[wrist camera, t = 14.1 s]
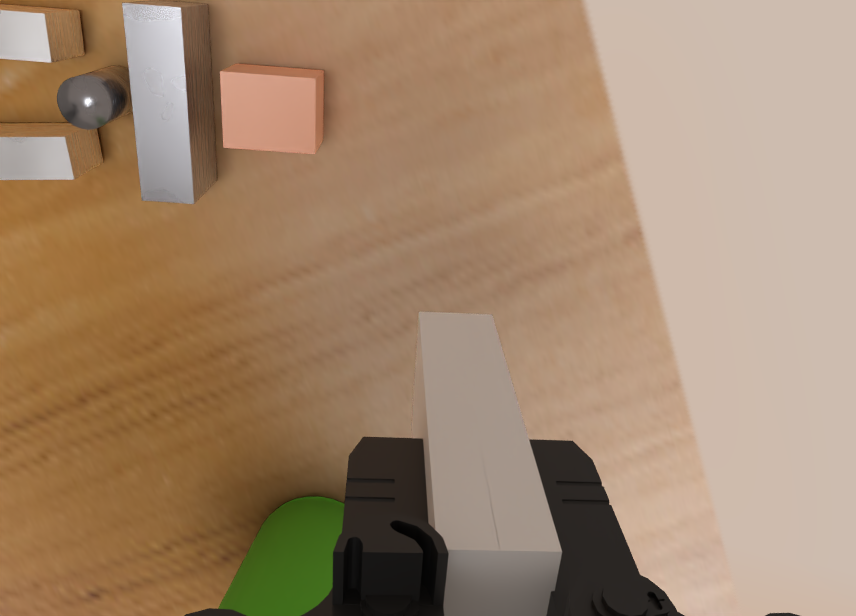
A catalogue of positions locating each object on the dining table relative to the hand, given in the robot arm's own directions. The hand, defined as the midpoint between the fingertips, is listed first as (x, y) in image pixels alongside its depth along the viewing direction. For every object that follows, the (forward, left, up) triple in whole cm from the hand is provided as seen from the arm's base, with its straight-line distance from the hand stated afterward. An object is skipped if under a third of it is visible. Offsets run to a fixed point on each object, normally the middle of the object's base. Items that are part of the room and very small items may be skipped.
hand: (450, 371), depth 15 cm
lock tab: (-6, +3, -13) cm, 14 cm away
